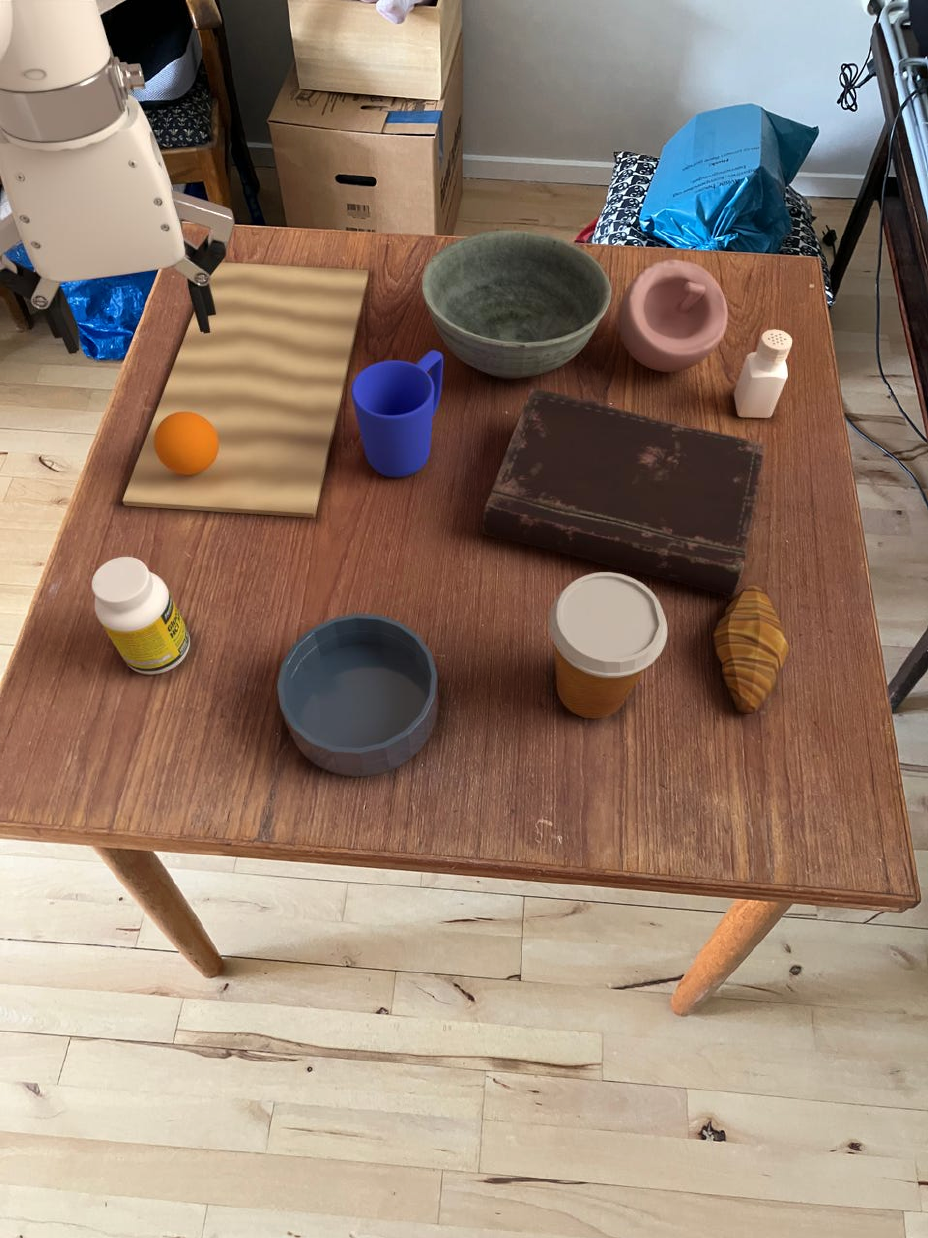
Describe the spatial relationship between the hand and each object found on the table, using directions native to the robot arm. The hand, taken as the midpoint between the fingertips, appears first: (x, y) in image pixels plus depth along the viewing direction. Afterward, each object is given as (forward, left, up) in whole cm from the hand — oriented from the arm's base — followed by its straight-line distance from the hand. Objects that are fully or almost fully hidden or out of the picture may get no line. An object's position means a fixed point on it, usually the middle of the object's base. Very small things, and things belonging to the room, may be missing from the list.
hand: (140, 331), depth 67 cm
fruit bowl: (+11, -21, -26) cm, 36 cm away
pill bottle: (-7, -11, -26) cm, 29 cm away
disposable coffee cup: (+31, -24, -26) cm, 48 cm away
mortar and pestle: (+53, +16, -26) cm, 61 cm away
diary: (+41, -4, -26) cm, 49 cm away
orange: (-1, +11, -22) cm, 25 cm away
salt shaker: (+60, +6, -26) cm, 66 cm away
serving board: (+7, +23, -26) cm, 36 cm away
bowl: (+36, +21, -26) cm, 49 cm away
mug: (+21, +9, -26) cm, 35 cm away
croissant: (+46, -24, -26) cm, 59 cm away
